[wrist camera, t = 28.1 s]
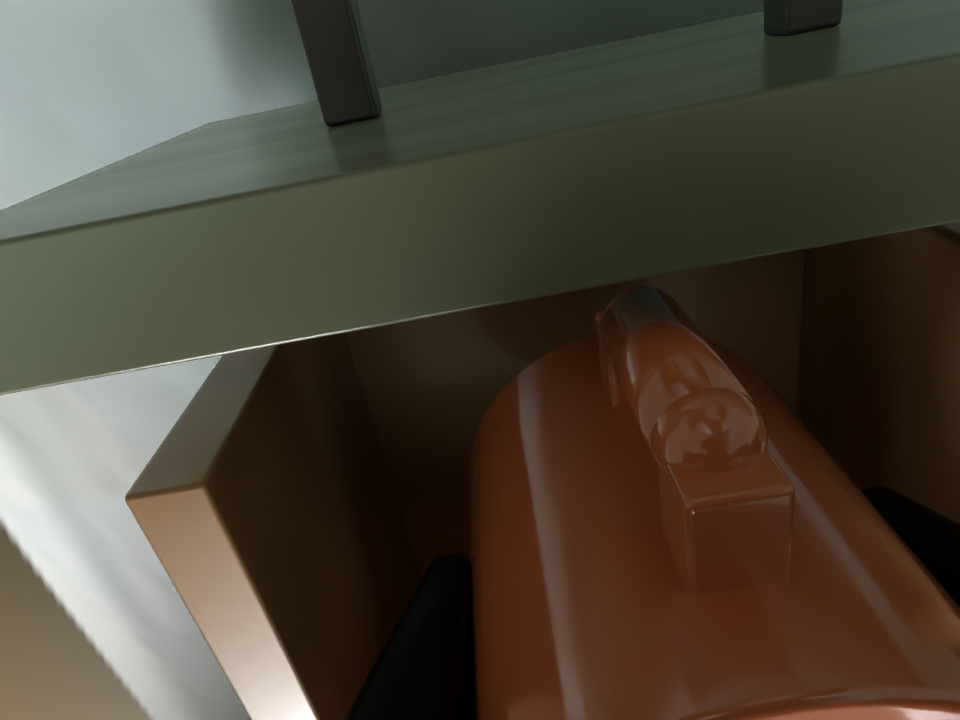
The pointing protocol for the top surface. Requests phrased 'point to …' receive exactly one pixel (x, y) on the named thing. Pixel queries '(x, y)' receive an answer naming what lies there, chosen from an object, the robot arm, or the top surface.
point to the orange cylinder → (686, 547)
